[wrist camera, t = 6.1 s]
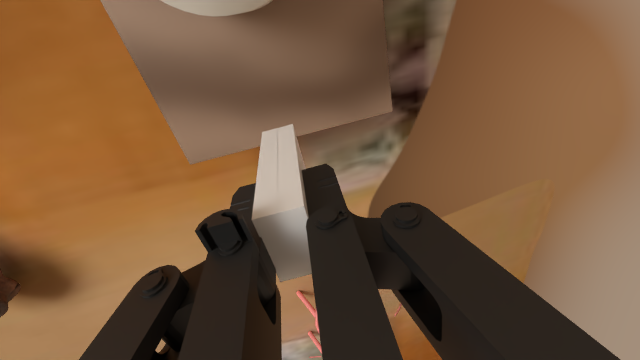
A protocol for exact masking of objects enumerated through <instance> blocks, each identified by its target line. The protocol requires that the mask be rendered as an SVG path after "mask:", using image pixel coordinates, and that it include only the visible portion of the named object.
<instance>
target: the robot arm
mask: <svg viewBox="0 0 640 360" xmlns="http://www.w3.org/2000/svg"><path fill="white" fill-rule="evenodd" d="M195 232H196V234H197V235H198V237H199V239H200V240H201V242H202V243H203V245H204V247H205V248H206V250H207V251H208V254H207V258H206V260H205V261H203V262H202V263H200V264H198V265H196V266H194V267H192V268H190V269H188V270H186V271H184V272H182V273H181V272H180V270H179V269H178V268H177V267H176V266H172V265H166V266H162V267H158V268H156V269H154V270H152V271H150V272H149V273H147V274H146V275H145V276H143V277H142V278H141V279H140V280H139V281H138V282H137V283H136V284H135V285H134V286H133V288H132V289H131V290H130V292H129V293H128V294H127V296H126V297H125V298H124V300H123V301H122V302H121V304H120V305H119V306H118V308H117V309H116V310H115V312H114V313H113V314H112V316H111V317H110V319H109V320H108V321H107V323H106V324H105V325H104V327H103V328H102V329H101V331H100V332H99V333H98V335H97V336H96V337H95V339H94V340H93V341H92V343H91V344H90V345H89V347H88V348H87V349H86V351H85V352H84V353H83V355H82V356H81V358H80V359H79V360H282V354H281V296H280V292H279V290H278V288H277V285H276V274H277V276H278V278H279V280H280V282H283V281H286V280H290V279H294V278H298V277H302V276H306V275H309V274H312V278H313V286H314V294H315V302H316V310H317V318H318V326H319V333H320V341H321V349H322V357H323V360H403V359H402V356H401V353H400V350H399V347H398V345H397V342H396V339H395V336H394V333H393V330H392V328H391V325H390V322H389V319H388V316H387V314H386V311H385V308H384V305H383V302H382V300H381V297H380V294H379V291H378V289H392V291H393V293H394V294H395V296H396V297H397V298H398V300H399V301H400V302H401V304H402V305H403V307H404V308H405V309H406V311H407V312H408V313H409V315H410V316H411V317H412V319H413V320H414V321H415V323H416V324H417V326H418V327H419V328H420V330H421V331H422V332H423V334H424V335H425V336H426V338H427V339H428V340H429V342H430V343H431V345H432V346H433V347H434V349H435V350H436V351H437V353H438V354H439V355H440V357H441V358H442V359H443V360H620V359H619V358H618V357H616V356H615V355H614V354H612V353H611V352H610V351H609V350H607V349H606V348H605V347H604V346H602V345H601V344H600V343H599V342H597V341H596V340H595V339H593V338H592V337H591V336H590V335H588V334H587V333H586V332H585V331H583V330H582V329H581V328H579V327H578V326H577V325H575V324H574V323H573V322H572V321H570V320H569V319H568V318H567V317H565V316H564V315H563V314H561V313H560V312H559V311H558V310H556V309H555V308H554V307H553V306H551V305H550V304H549V303H548V302H546V301H545V300H544V299H542V298H541V297H540V296H539V295H537V294H536V293H535V292H533V291H532V290H531V289H529V288H528V287H527V286H526V285H525V284H523V283H522V282H521V281H519V280H518V279H517V278H516V277H514V276H513V275H512V274H511V273H509V272H508V271H507V270H505V269H504V268H503V267H502V266H500V265H499V264H498V263H497V262H495V261H494V260H493V259H491V258H490V257H489V256H488V255H486V254H485V253H484V252H482V251H481V250H480V249H479V248H477V247H476V246H475V245H474V244H472V243H471V242H470V241H468V240H467V239H466V238H465V237H463V236H462V235H461V234H460V233H458V232H457V231H456V230H454V229H453V228H452V227H451V226H449V225H448V224H447V223H445V222H444V221H443V220H442V219H440V218H439V217H438V216H436V215H435V214H434V213H433V212H431V211H430V210H429V209H428V208H426V207H424V206H422V205H420V204H415V203H411V202H410V203H398V204H395V205H392V206H390V207H389V208H387V209H386V210H385V211H384V212H383V214H382V215H381V218H364V217H360V216H357V215H355V214H352V213H351V212H350V211H349V210H348V208H347V206H346V203H345V201H344V198H343V195H342V192H341V189H340V186H339V184H338V181H337V178H336V175H335V172H334V169H333V168H332V167H330V166H329V165H327V164H323V165H319V166H315V167H312V168H308V169H306V167H305V164H304V161H303V157H302V154H301V150H300V147H299V143H298V140H297V137H296V133H295V130H294V126H293V124H291V125H287V126H283V127H280V128H276V129H272V130H268V131H264V132H262V138H261V146H260V155H259V163H258V171H257V179H256V183H254V184H250V185H247V186H243V187H240V188H239V189H238V190H237V191H236V193H235V194H234V195H233V197H232V202H231V206H230V209H226V210H221V211H219V212H216V213H213V214H212V215H210V216H209V217H207V218H205V219H204V220H203V221H202V222H201V223H200V224H199V225H198V227H197V228H196V230H195ZM161 339H162V340H163V341H164V342H165V343H166V344H165V346H164V347H163V349H162V350H161V351H160V352H159V353H157V352H156V351H155V350H156V348H157V346H158V344H159V342H160V341H161Z"/></svg>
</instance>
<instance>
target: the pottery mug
mask: <svg viewBox="0 0 640 360" xmlns="http://www.w3.org/2000/svg"><path fill="white" fill-rule="evenodd" d="M20 286H21V285H20V284H19V283H17V282H16V281H15V280H13V279H10V278H7V277H5V276H3V274H2V271H1V269H0V317H1V316H2V315H4V314H5V313H6V312H7V311H8V302H9V301H10V300H11V299H12V298H13V297H14V296H16V294H17V293H18V292H19V291H20Z"/></svg>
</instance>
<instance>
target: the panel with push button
mask: <svg viewBox="0 0 640 360" xmlns="http://www.w3.org/2000/svg"><path fill="white" fill-rule="evenodd" d="M101 2H102V4H103V6H104V8H105V10H106V11H107V13H108V15H109V17H110V19H111V21H112V22H113V24H114V26H115V28H116V30H117V31H118V33H119V35H120V37H121V39H122V41H123V42H124V44H125V46H126V48H127V50H128V52H129V53H130V55H131V57H132V59H133V61H134V63H135V64H136V66H137V68H138V70H139V72H140V74H141V75H142V77H143V79H144V81H145V83H146V85H147V86H148V88H149V90H150V92H151V94H152V95H153V97H154V99H155V101H156V103H157V105H158V106H159V108H160V110H161V112H162V114H163V116H164V117H165V119H166V121H167V123H168V125H169V127H170V128H171V130H172V132H173V134H174V136H175V138H176V139H177V141H178V143H179V145H180V147H181V149H182V150H183V152H184V154H185V156H186V158H187V159H188V161H189V163H190V164H194V163H198V162H202V161H206V160H210V159H213V158H217V157H221V156H225V155H229V154H232V153H236V152H240V151H244V150H248V149H252V148H255V147H259V146H261V138H262V132H264V131H268V130H272V129H276V128H280V127H283V126H287V125H291V124H293V126H294V130H295V133H296V137H297V136H301V135H305V134H309V133H313V132H316V131H320V130H324V129H328V128H332V127H336V126H339V125H343V124H347V123H351V122H355V121H358V120H362V119H366V118H370V117H374V116H378V115H381V114H385V113H389V112H392V100H391V88H390V77H389V65H388V53H387V42H386V30H385V19H384V7H383V0H101Z"/></svg>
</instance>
